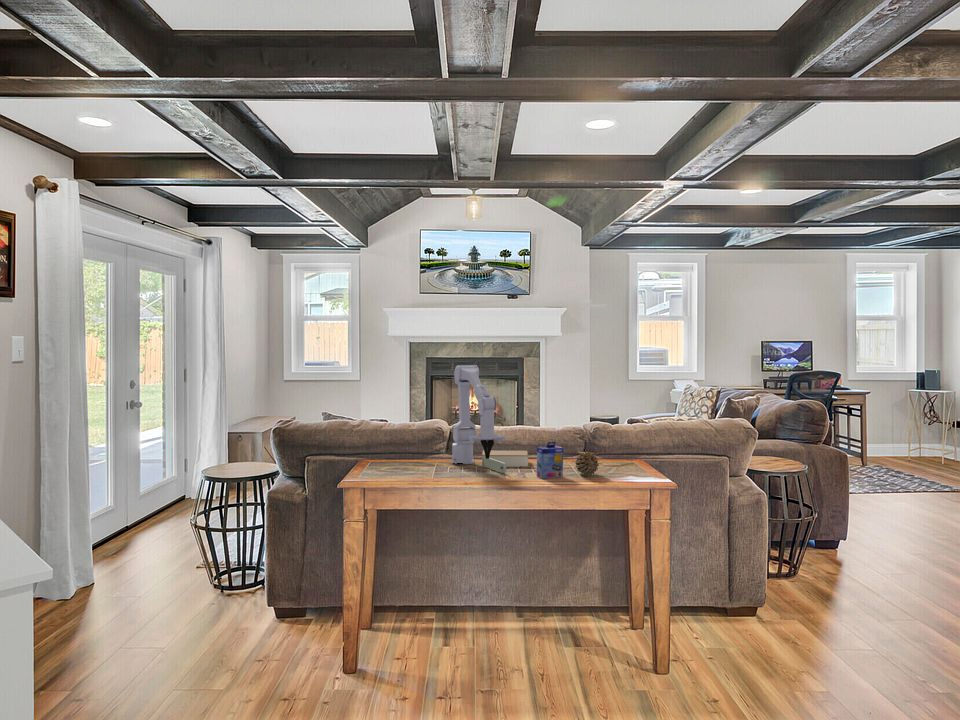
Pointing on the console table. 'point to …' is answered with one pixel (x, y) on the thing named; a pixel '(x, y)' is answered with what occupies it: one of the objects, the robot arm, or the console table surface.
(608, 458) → the console table surface
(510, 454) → the beige flat box
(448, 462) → the console table surface
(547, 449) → the ink cartridge box
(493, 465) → the door
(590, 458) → the pine cone
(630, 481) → the console table surface
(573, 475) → the console table surface
